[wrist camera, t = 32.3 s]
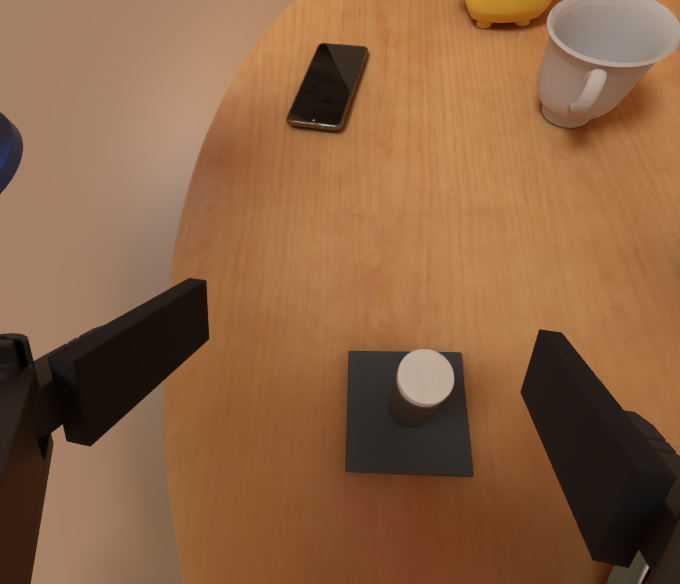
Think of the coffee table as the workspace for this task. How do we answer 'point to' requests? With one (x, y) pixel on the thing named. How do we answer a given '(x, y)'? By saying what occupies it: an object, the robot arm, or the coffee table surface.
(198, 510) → the coffee table surface
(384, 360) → the pad
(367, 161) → the coffee table surface
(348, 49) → the smartphone
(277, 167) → the coffee table surface
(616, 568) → the bowl
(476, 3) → the teapot
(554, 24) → the teacup
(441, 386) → the dark grey capped cylinder
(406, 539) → the coffee table surface
